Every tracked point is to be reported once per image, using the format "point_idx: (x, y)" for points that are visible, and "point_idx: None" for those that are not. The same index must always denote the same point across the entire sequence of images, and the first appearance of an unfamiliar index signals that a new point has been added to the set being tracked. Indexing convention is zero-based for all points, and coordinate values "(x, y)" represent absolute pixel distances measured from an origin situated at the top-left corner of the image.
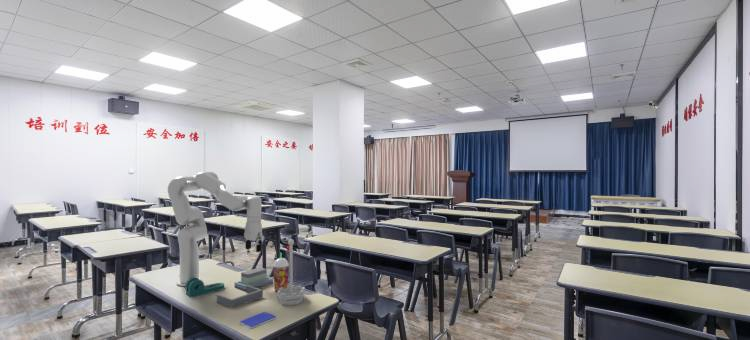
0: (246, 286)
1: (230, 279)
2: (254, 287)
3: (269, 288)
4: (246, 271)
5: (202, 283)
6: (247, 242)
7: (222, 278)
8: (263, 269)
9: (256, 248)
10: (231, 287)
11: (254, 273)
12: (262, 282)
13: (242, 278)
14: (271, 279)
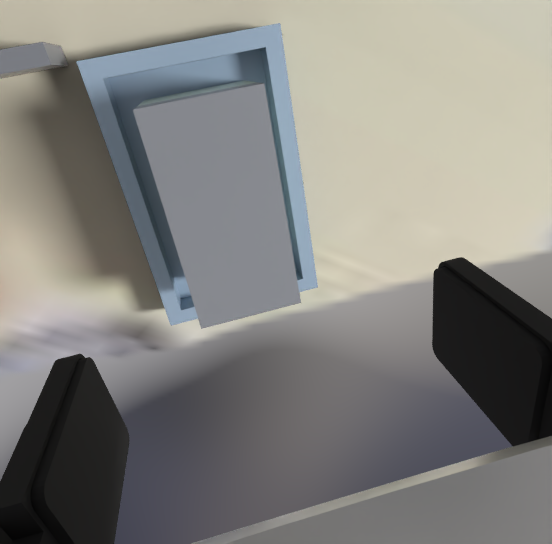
0: (36, 43)
1: (476, 93)
2: None
3: (55, 243)
4: (261, 149)
5: None
6: (537, 376)
7: (548, 52)
8: (212, 305)
9: (47, 410)
10: (285, 2)
11: (160, 197)
12: (138, 231)
13: (231, 86)
14: (166, 309)
